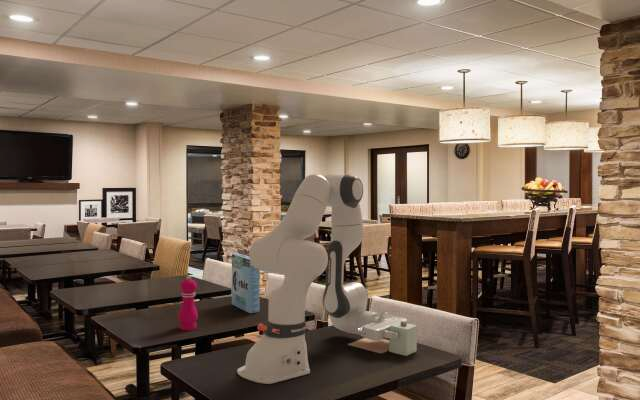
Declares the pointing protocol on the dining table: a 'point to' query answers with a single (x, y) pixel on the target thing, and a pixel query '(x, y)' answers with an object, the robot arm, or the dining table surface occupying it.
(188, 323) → the pepper mill
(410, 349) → the pale green square canister
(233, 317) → the dining table surface
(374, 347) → the mat
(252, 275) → the gum box
